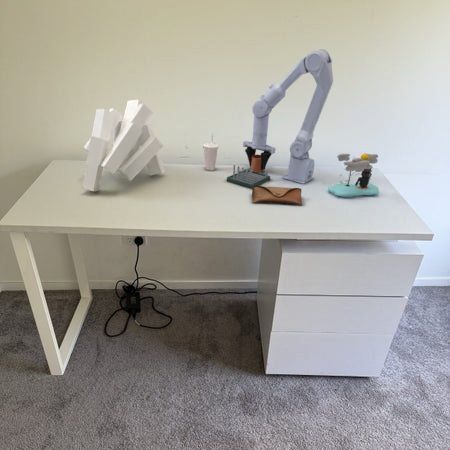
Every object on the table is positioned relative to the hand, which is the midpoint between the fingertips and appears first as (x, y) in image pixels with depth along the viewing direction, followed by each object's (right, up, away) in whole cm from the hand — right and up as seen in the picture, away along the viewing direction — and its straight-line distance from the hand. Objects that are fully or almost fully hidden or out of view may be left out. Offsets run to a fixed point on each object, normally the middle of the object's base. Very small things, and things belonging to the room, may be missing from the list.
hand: (257, 167), depth 161 cm
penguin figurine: (+35, -15, -15) cm, 41 cm away
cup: (0, -1, +1) cm, 1 cm away
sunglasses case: (+5, -20, -24) cm, 31 cm away
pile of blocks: (-52, -9, -12) cm, 54 cm away
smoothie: (-20, 0, +1) cm, 20 cm away
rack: (-4, -8, -9) cm, 13 cm away
